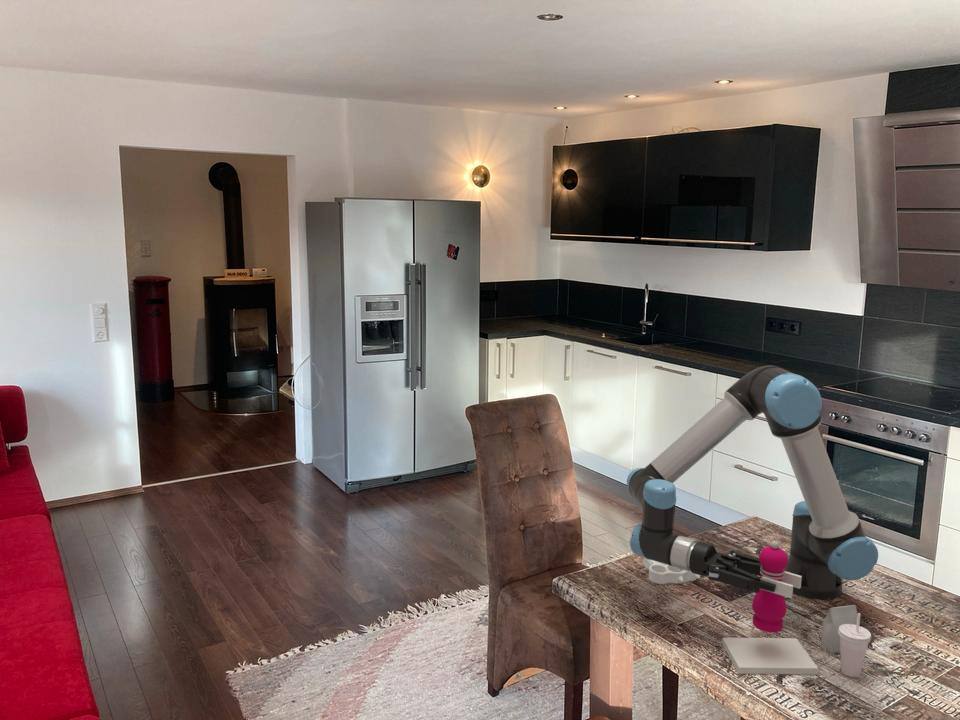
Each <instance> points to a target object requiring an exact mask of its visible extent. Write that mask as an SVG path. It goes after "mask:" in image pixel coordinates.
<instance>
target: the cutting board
mask: <svg viewBox="0 0 960 720" xmlns="http://www.w3.org/2000/svg"><path fill="white" fill-rule="evenodd" d="M722 644H723V645H722ZM721 645H722V646H724V647H723V648H724V650H725V652H726V651H727V652H726V654H727V653H728V654H727V656H728V655H729V656H728V658H729V659H730V661H731V660H732V661H731V663H732V665H733V664H734V665H733V666H734V668H735V670H736V672H737V673H738V674H739V675H811V676H812V675H817V676H818V675H819V667H818V665H817V664H816V663H815V662H814V660H813V659H812V658H811V656H810V655H809V654H808V652H807V651H806V650H805V648H804V647H803V645H802V644H801V642H800V641H799V640H798V639H797V637H796V638H792V637H784V638H783V637H722V638H721Z"/></svg>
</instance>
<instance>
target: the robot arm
mask: <svg viewBox="0 0 960 720" xmlns="http://www.w3.org/2000/svg"><path fill="white" fill-rule="evenodd" d="M723 394H724V397H723V399H721V400H720V401H719V402H718V403H717V404H715V405H714V407H712V408H711V409H710V410H709V411H708V412H706V413H705V414H704V415H703V416H702V417H701V418H700V419H699V420H697V421H696V422H695V423H694V424H693V425H692V426H691V427H690V428H689V429H687V430H686V431H685V432H684V433H682V434H681V436H680V437H678V438H677V439H675V441H674V442H672V443H671V444H670V445H669V446H668V447H666V449H665V450H664V451H662V452H661V453H660V454H659V455H658V456H657V457H655V458H654V460H653V459H652V461H651V462H650V463H649V464H647V465H646V466H645V467H637V468H635V469H632V470H631V471H630V472H629V473H628V475H627V478H626V486H627V487H626V488H627V489H628V491H629V493H630V495H631V496H632V498H633V499H634V500H635V501H636V502H637V504H638V505H639V507H640V508H641V510H642V515H641V516H642V518H641V519H642V520H641V524H637V525H636V526H634V528H633V530H632V532H631V536H630V537H631V538H630V539H629V546H630V550H631V552H632V553H633V554H634V555H637V556H639V557H642V558H643V559H644V558H646V559H648V560H649V559H650V560H653V561H657V562H660V563H664V564H667V565H670V566H673V567H676V568H679V569H680V570H682V571H683V570H686V571H691V572H692V573H694V574H698V575H701V577H705V578H707V577H708V580H709V581H716V582H719V583H724V584H726V585H730V586H733V587H735V588H739V589H742V590H745V591H747V592H754V593H755V594H756V593H759V589H760V588H761V589H762V590H766V591H769V592H772V593H775V594H779V595H782V596H783V597H784V598H789V599H792V598H793V593H794V594H796V595H798V596H799V595H800V596H803V597H807V598H811V599H818V600H828V599H829V598H830V599H834V597H835V598H838V597H839V596H841V595H842V593H843V580H846V581H857V580H860V579H862V578H864V577H866V576H868V575H870V573H871V572H872V571H873V570H874V567H875V566H876V565H877V564H878V560H879V550H878V546H876V544H875V543H874V541H873V540H872V539H870V538H869V537H867V536H866V534H865V532H864V529H863V526H862V524H861V521H860V518H859V516H858V515H857V514H856V513H855V512H853V511H850V510H849V508H848V505H847V503H846V499H845V497H844V494H843V491H842V489H841V487H840V484H839V481H838V479H837V476H836V473H835V471H834V468H833V465H832V463H831V459H830V457H829V455H828V452H827V449H826V446H825V444H824V440H823V439H822V436H821V432H820V430H819V427H820V425H821V424H822V421H823V419H822V416H821V414H820V413H821V411H822V410H823V409H822V407H823V399H822V396H821V394H820V391H819V389H818V388H817V386H815V385H814V384H813V382H811V381H810V380H809V379H807V378H806V377H804V376H802V375H799V374H797V373H796V374H795V373H794V372H792V371H789V370H786V369H785V368H783V367H780V366H776V365H771V364H770V365H764V366H763V365H762V366H760V367H759V366H758V367H757V368H755V369H753V370H751V371H749V372H748V373H746V374H745V375H743V376H742V377H741V378H739V379H738V380H737V381H735V382H734V383H733V384H732V385H731V386H729V388H728V389H726V390H725V391H724V393H723ZM761 414H764V417H765V419H766V423H767V425H768V427H769V429H770V432H771V435H773V436H774V437H776V438H778V439H780V440H781V442H782V444H783V445H782V446H783V448H784V450H785V452H786V455H787V459H788V460H789V463H790V465H791V468H792V471H793V473H794V476H795V479H796V480H797V481H796V482H797V484H798V486H799V489H800V491H801V494H802V497H803V499H804V500H802V501H799V502H797V503H796V504H795V505H794V507H793V512H792V513H793V514H792V524H791V525H792V526H791V538H790V549H789V550H790V551H789V555H788V565H787V566H786V568H785V569H784V571H785V573H784V578H782V580H781V581H777V580H774V579H771V578H767V577H764V576H762V575H761V574H760V571H761V569H760V567H761V566H762V565H761V563H760V562H759V557H758V558H757V557H754V556H751V555H746V554H743V553H741V552H738V551H736V550H730V554H728V553H722V552H721V553H720V552H718V551H717V550H716V546H715V545H713V544H712V543H707V542H704V541H700V540H699V541H698V540H697V539H694V538H691V537H688V536H684V535H679V534H677V533H674V528H675V515H676V514H675V513H676V504H677V496H676V495H677V488H676V486H675V484H674V483H675V482H676V481H677V480H678V479H680V478H681V477H682V476H683V475H684V474H685V473H687V471H689V470H690V469H691V468H692V467H693V466H694V465H696V464H697V463H698V462H699V461H700V460H702V458H704V457H705V456H706V455H707V454H708V453H709V452H711V451H712V450H713V449H714V448H715V447H716V446H718V445H719V444H720V443H721V442H723V441H724V440H725V439H726V438H727V437H728V436H729V435H730V434H732V433H733V431H735V430H736V429H737V428H739V426H741V424H743V423H744V422H745V421H753V420H754V419H755V418H756V417H758V416H759V415H761ZM759 576H761V577H759ZM837 596H838V597H837Z"/></svg>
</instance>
